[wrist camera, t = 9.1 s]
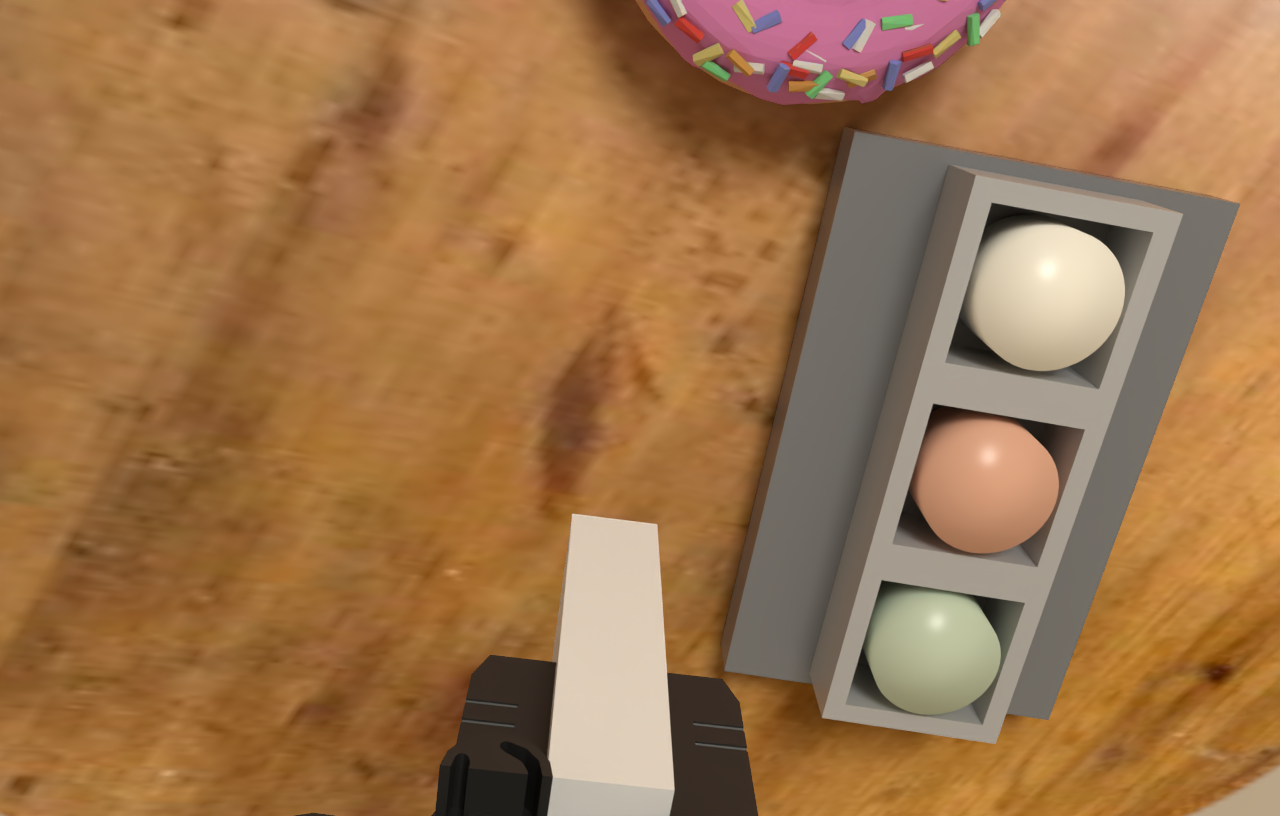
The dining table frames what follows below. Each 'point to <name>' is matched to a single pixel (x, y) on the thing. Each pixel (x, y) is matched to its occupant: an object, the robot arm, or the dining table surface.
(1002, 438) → the button terracotta
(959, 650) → the button sage
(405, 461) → the dining table surface
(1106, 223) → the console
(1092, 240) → the button ivory
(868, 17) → the donut
